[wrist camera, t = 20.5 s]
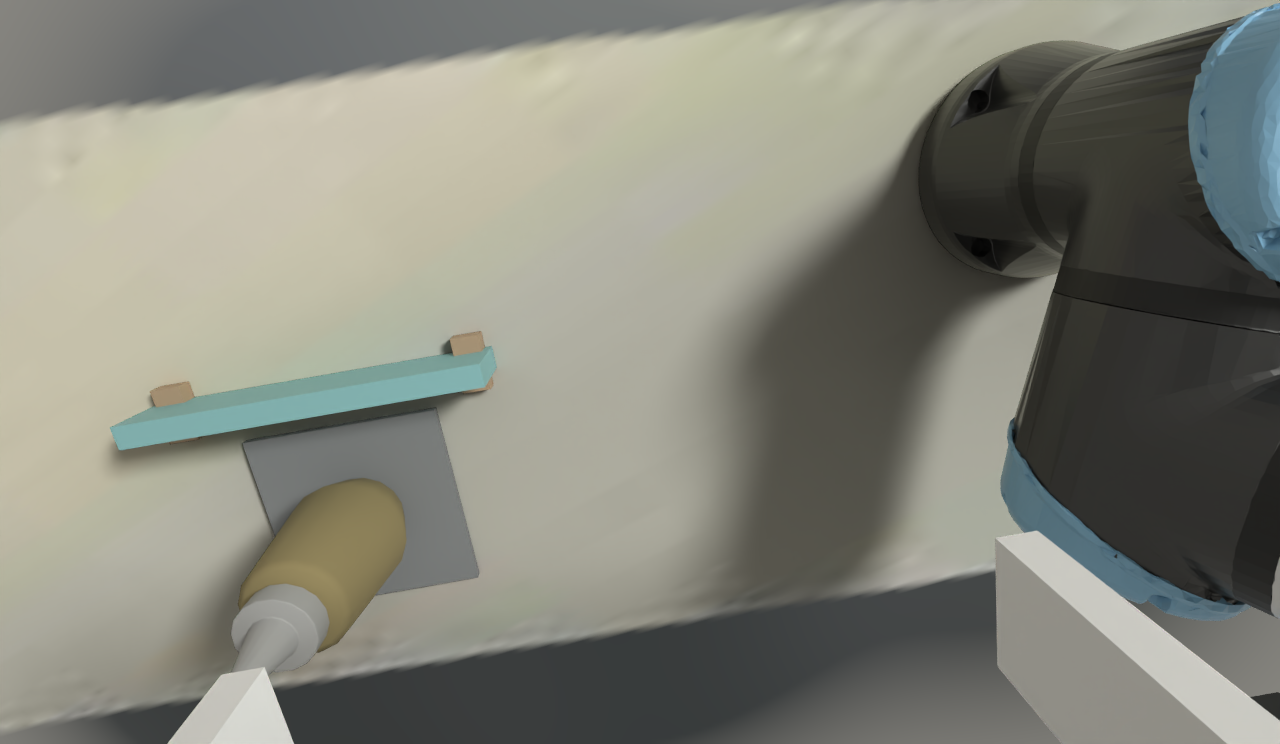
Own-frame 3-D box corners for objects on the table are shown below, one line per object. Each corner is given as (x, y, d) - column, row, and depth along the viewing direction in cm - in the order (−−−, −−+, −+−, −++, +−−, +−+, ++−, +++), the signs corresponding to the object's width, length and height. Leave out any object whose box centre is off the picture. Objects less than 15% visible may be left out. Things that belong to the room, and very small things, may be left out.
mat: (246, 440, 48) (242, 443, 48) (435, 407, 48) (434, 410, 48) (303, 603, 52) (300, 608, 52) (479, 572, 52) (478, 577, 52)
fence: (153, 387, 47) (102, 410, 42) (487, 330, 47) (475, 346, 42) (173, 439, 48) (125, 467, 43) (500, 382, 48) (489, 404, 43)
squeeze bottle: (395, 449, 48) (281, 594, 31) (436, 543, 51) (350, 727, 33) (291, 480, 49) (120, 641, 31) (336, 572, 51) (199, 770, 34)
